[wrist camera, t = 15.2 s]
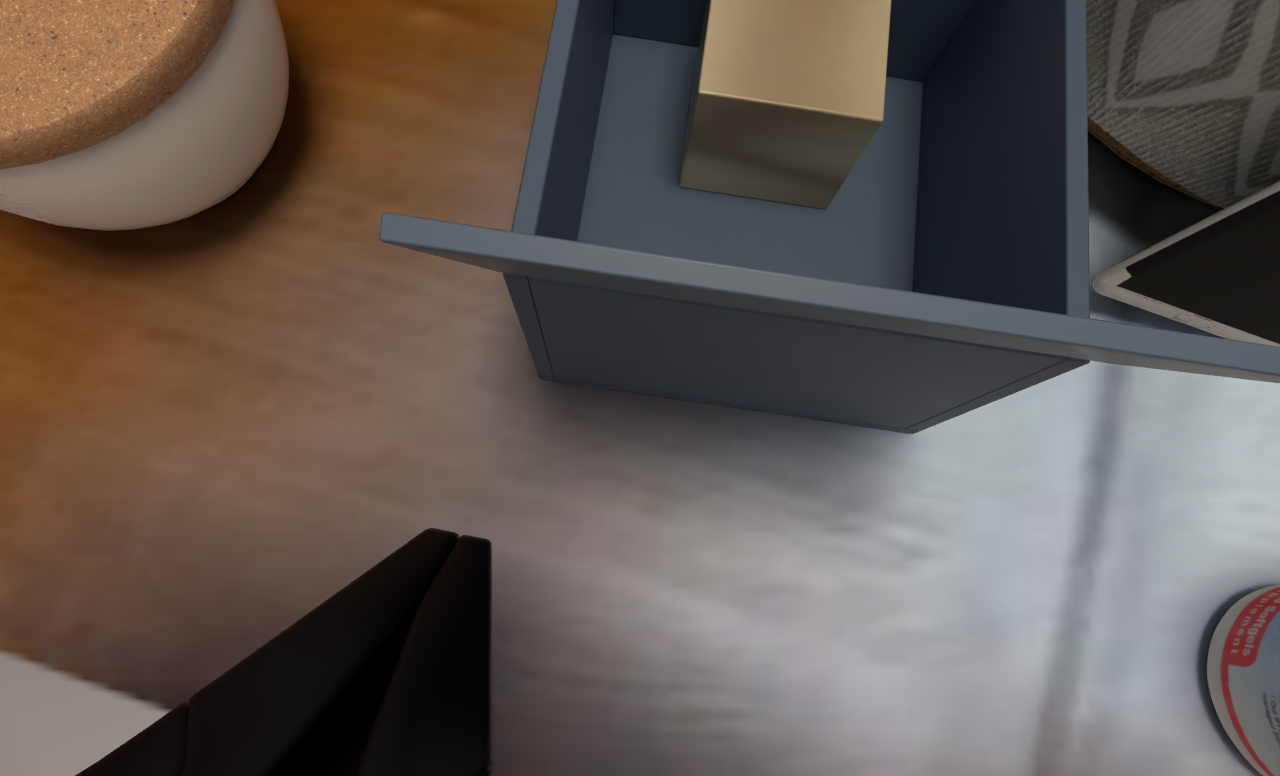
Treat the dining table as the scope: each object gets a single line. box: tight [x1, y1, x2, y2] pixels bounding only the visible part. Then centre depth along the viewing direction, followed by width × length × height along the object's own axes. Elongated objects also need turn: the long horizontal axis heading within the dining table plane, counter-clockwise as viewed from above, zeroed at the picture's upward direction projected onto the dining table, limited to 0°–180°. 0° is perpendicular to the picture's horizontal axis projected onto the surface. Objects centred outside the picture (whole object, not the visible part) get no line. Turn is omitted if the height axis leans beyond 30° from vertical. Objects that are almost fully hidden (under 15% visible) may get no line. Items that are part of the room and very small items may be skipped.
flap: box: [379, 213, 1280, 383], centre depth 11 cm, size 6×12×1 cm
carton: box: [503, 0, 1090, 434], centre depth 20 cm, size 13×12×8 cm
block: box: [679, 0, 891, 209], centre depth 22 cm, size 5×5×5 cm
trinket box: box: [0, 0, 289, 231], centre depth 19 cm, size 11×11×9 cm
